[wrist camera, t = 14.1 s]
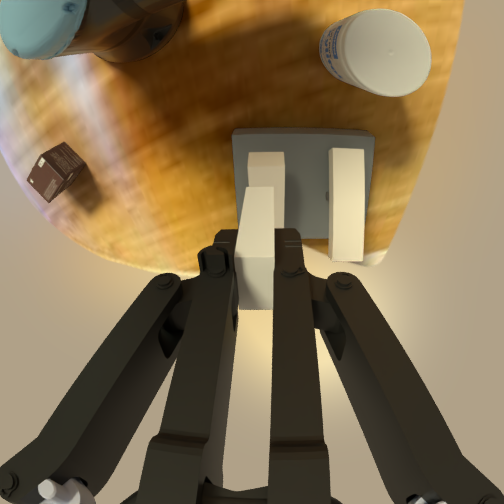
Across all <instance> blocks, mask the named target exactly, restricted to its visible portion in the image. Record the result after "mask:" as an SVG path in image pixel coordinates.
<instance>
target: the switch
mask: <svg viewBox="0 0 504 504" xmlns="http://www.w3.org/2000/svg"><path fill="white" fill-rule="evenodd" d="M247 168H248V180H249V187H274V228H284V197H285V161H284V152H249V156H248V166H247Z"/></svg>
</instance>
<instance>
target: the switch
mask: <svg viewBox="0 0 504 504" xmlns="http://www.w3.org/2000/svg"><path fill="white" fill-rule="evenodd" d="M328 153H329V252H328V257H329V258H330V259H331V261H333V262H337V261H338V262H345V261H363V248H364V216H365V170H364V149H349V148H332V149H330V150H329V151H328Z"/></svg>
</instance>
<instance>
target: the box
mask: <svg viewBox="0 0 504 504" xmlns="http://www.w3.org/2000/svg"><path fill="white" fill-rule="evenodd" d="M84 166H85V162H84V161H83V160H82V159H81V158H80V157H79V156H78V155H77V154H76V153H75V152H74V151H73V150H72V149H71V148H70V147H69V146H68V145H67V144H66V143H65V142H63V143H61V144H59V145H57V146H55V147H53V148H52V149H50V150H48V151H46V152H45V153H43V154H41V155H40V156H39V158H38V160H37V162H36V163H35V165H34V167H33V168H32V171H31V173H30V175H29V176H28V178H27V181H28V182H29V183H30V184H31V185H32V187H33V188H34V189H35V190H36V191H37V192H38V193H39V194H40V195H41V196H42V197H43V198H44V199H45V200H46V201H47V202H48V203H50V202H51V201H52V200H53V199H54V198H55V197H57V196H58V195H59V194H60V193H61V192H63V191H64V190H65V189H66V188H67V187H69V186H70V185H71V184H72V182H73V181H74V179H75V178H76V177H77V176H78V174H79V173H80V171H81V170H82V168H83V167H84Z"/></svg>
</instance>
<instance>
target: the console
mask: <svg viewBox="0 0 504 504" xmlns="http://www.w3.org/2000/svg"><path fill="white" fill-rule="evenodd" d="M374 146H375V137H374V136H373V135H372V134H371V133H369V132H368V131H367V130H352V129H334V128H299V127H271V128H236V129H234V131H233V133H232V147H233V161H234V175H235V189H236V203H237V216H238V229H239V225H240V219H241V214H242V208H243V202H244V197H245V191H246V187H249V180H248V168H247V166H248V156H249V152H284V161H285V197H284V228H295V229H296V230H297V231H298V232H299V233H300V235H301V239H329V153H328V151H329V150H330V149H332V148H349V149H364V170H365V216H364V227H365V220H366V213H367V207H368V199H369V192H370V184H371V175H372V166H373V157H374Z"/></svg>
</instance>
